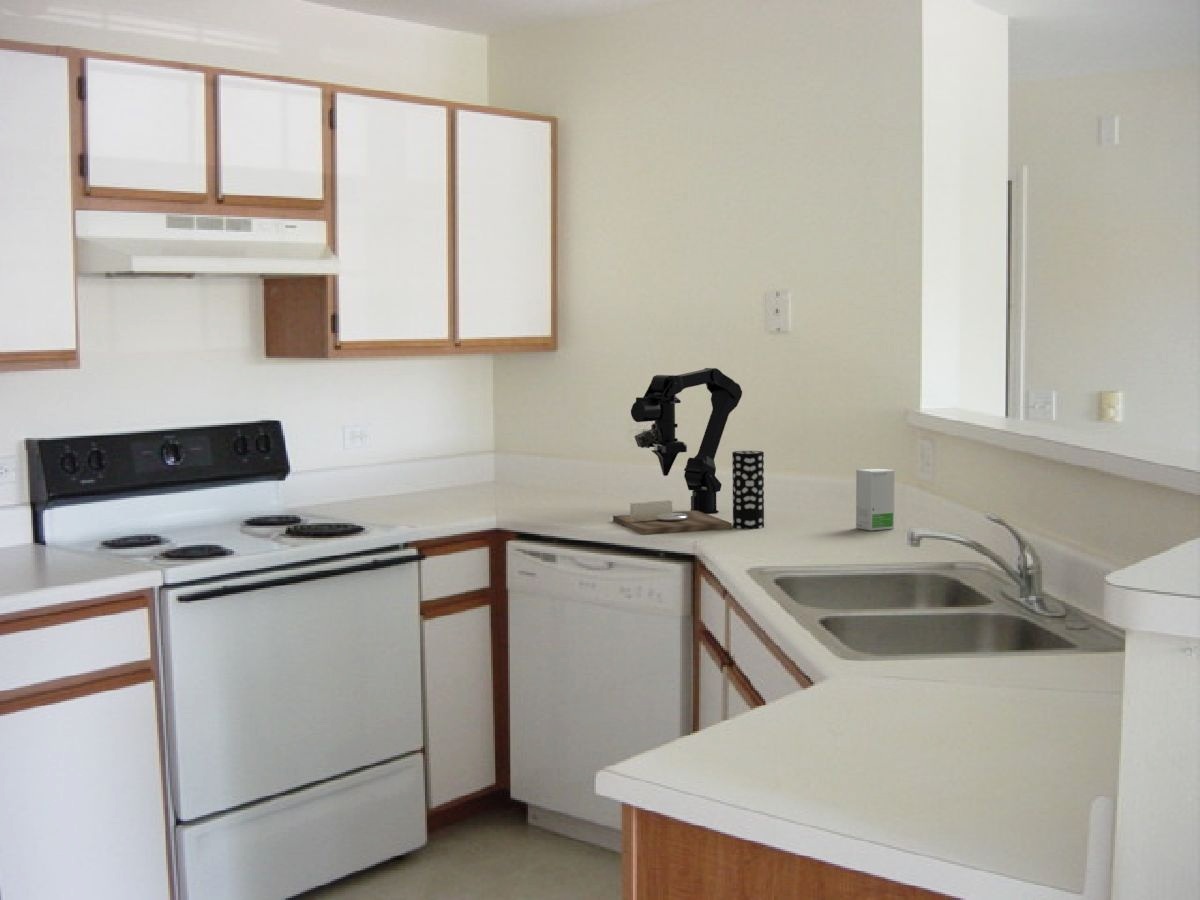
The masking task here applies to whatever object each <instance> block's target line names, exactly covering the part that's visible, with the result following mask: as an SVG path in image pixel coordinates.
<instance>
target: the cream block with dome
mask: <svg viewBox="0 0 1200 900" xmlns="http://www.w3.org/2000/svg"><path fill="white" fill-rule="evenodd" d="M629 504H630V507H629V508H630V510H629V511H630V515H631V521H632V522H637V521H650V520H662V521H678V520H685V519H687V518H688V515H687V514H682V513H672V512H673V501H672V500H669V499H668V500H658V501H657V500H656V501H655V500H654V501H643V502H641V501H640V502H630V503H629Z"/></svg>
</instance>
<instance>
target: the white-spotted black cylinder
mask: <svg viewBox="0 0 1200 900" xmlns="http://www.w3.org/2000/svg"><path fill="white" fill-rule="evenodd" d="M764 453H765V452H764V451H761V450H737V451H736V450H735V451H733V452H732V453H731V454H732V527H733V528H735V529H739V528H740V529H742V530H757V529H762V528H765V475H764V474H765V467H764V466H765V459H764V458H765V455H764Z"/></svg>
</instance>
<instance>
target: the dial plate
mask: <svg viewBox="0 0 1200 900" xmlns="http://www.w3.org/2000/svg"><path fill="white" fill-rule="evenodd" d="M672 513H682V514H687V515H688V518H687V519H685V520H678V521H662V520H650V521H637V522H632V521H631V514H623V515H622V514H621V515H612V521H613V522H614V523H616V524H619V525H621V526H622V527H625V528H627V529H629V530H631V531H633V532H636V533H637V534H638V533H639V534H640V535H642V536H643V535H659V534H671V533H672V534H673V533H688V532H703V531H716V530H729V529H730V530H732V529H733V528H732V527H733V522H730V521H727V520H724V519H721V518H718V517H716V516H714V515H712V514H711V515H710V514H709V513H702V512H700V511H690V510H686V511H683V510H682V511H672Z"/></svg>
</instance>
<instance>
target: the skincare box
mask: <svg viewBox="0 0 1200 900" xmlns="http://www.w3.org/2000/svg"><path fill="white" fill-rule="evenodd" d="M855 473H856V475H855V476H856V477H855V479H856V480H855V482H856V485H855V486H856V488H855V490H856V491H855V492H856V493H855V500H856V501H855V528H856V529H860V530H864V531H869V532H870V531H881V530H882V531H883V530H893V529H895V469H883V468H866V469H865V468H864V469H856V470H855Z"/></svg>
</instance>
